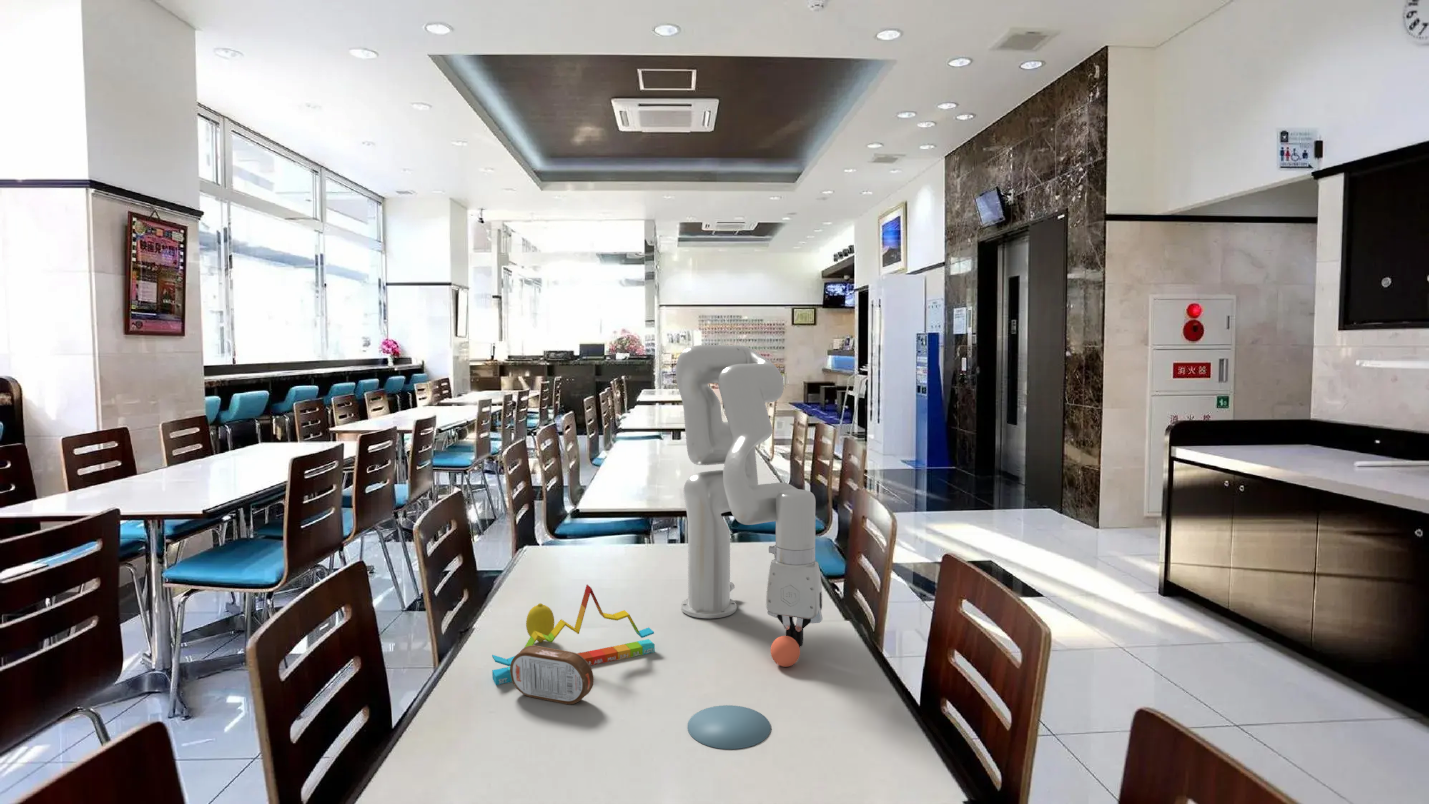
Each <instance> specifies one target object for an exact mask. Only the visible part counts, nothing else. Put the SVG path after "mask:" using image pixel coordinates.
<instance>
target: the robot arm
mask: <svg viewBox="0 0 1429 804" xmlns="http://www.w3.org/2000/svg"><path fill="white" fill-rule="evenodd" d="M675 364H676V365H675V380H676V385H677V388H678V392H679V395H680V398H681V399H680V400H681V403H682V408H683V418H684V421H683V422H684V429H685V441H686V443H685V444H686V450H687V456H688V459H689V460H690V462H691V463H693V464H694V465H696V466H714V465H723V469H719V470H707V471H701V472H698V473H695V474H692V475H690V476H689V478H687V480H686V481H685V482H684V486H683V499H684V504H685V509H686V510H685V511H686V516H687V518H686V519H687V549H688V550H687V556H688V557H687V598H686V599H684V600H683V601H682V602H681V605H680V606H681V607H680V608H681V611H682V613H684V614H686V615H687V616H690V617H693V618H698V619H707V620H708V619H719V618H720V619H721V618H726V617H729V616H731V615H733V614H734V613H736V611H737V602H735V600H733V599H732V598H731V592H732V591H733V590H734V589H735V584H734V583H733V582H731V534H730V529H729V526H728V524H727V523H726V522H725V520H724V519H723V517H722V514H724V513H728V512H731V514H732V516H733V518H734V519H735V520H736V521H737V522H738V523H739V524H741V525H745V526H750V525H759V524H763V523H764V524H765V523H772V522H773V523H775V544H774V545H769V547H768V553H769V554H772V555H774V556H773V558H774V559H771V561H770V564H769V570H768V575H767V576H768V577H767V587H766V599H765V601H766V603H765V605H766V609H767V615H769V616H770V617H773V618H776V619H777V620H778V621H779V622H780V624H782V626H783V629H784V630H785V636H789V637H792V638H793V639H795V640H796V642H797V643H798V645H799V648H801V647H802V646H803V645H804V628H806V627H807V626H809V624H820V623H821V622H822V621H823V614H822V610H823V586H822V578H821V572H820V566H819V562H818V561H816V505H817V504H816V501H817V500H816V496H815V495H814V493H813V492H811V490H808V489H807V490H806V489H798V488H797V487H795V486H794V485H792V484H789V483H787V482H771V483H763V484H762V483H761V484H759V480H758V467H757V466H758V465H757V456H756V455H757V454H756V447H757V446H759V445H760V444H763V443H764V442H766V441H767V440H768V439H769V438H770V437H771V436H772V435H773V426H772V423H771V419H770V416H769V413H768V410H767V404H766V403H773V402H777V401H778V400H779V399H780V398H781V397H782V395H783V393H784V388H785V387H784V386H785V383H784V379H783V376H782V373H781V372H780V370H779V368H778V367H777V366H776V365H775V364H774V363H773V362H772V361H770V360H769V359H767V358H766V357H764V356H763V355H761V354H760V353H759V352H757V351H755V350H754V349H752V348H750V347H749V346H745V345H741V344H739V345H737V344H734V345H732V344H724V345H723V344H722V345H721V344H698V345H692V346H689V347H687V348H685V349H684V350H682V352H681V353H680V354H679V356H678V358H677V360H676V363H675ZM709 384H718V390H719V392H720V397H721V402H722V405H723V408H724V411H725V412H724V413H725V416H726V419H727V421H725V422H724V421H723V417H722V407H721V406H722V405H721V402H720V399H719V397H718V395H717V394H716V392H715V391H714V390H713V389H712V387H711V386H709ZM795 618H796V622H795V621H794V619H795Z"/></svg>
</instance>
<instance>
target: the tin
mask: <svg viewBox="0 0 1429 804" xmlns="http://www.w3.org/2000/svg"><path fill="white" fill-rule="evenodd" d="M524 647H525V646H524ZM514 656H515V657H514V658H513V660H512V661H511V665H510V666H509V667H510V674H511V679H512V682H511V683H512V684H513V686H514V687H515V688H516V690H517V691H518V692H520V693H521V694H522V695H524V696H526V697H529V698H534V699H539V700H544V701H547V702H548V701H550V702H553V703H557V704H558V703H559V704H564V705H574V704H577V703H578V702H580V701H581V700H582V699H584V697H586V696H587V695H589V694H590V692H591V691H592V689H593V687H594V680H595V679H594V673H593V670H592V667H591V665H589V664H588V662H587V661H586V660H585V659H584V658H583V657H582V656H580V655H579V654H577V653H576V652H574V651H568V650H562V649H557V648H550V647H545V646H540V645H535V644H534V645H532V646H527V647H525V648H522V649H521V650H520V651H519V652H518V653H517V654H516V655H514Z"/></svg>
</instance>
